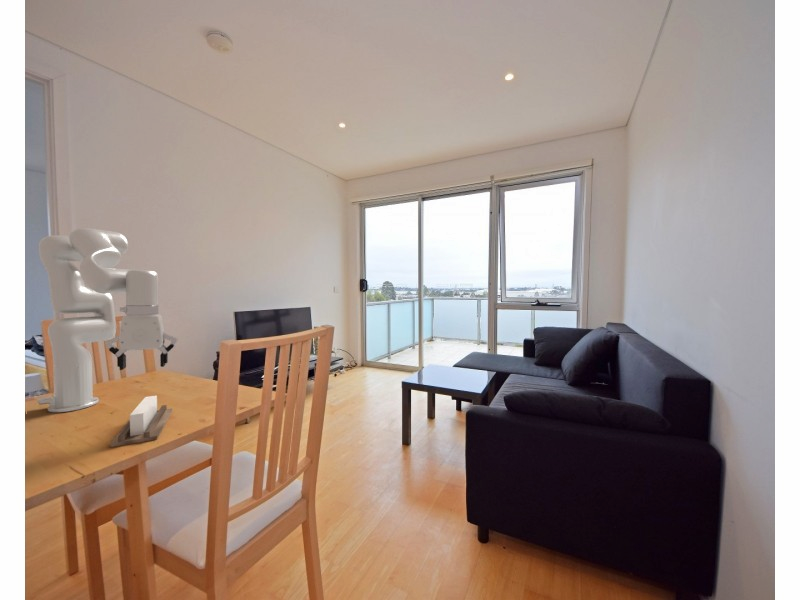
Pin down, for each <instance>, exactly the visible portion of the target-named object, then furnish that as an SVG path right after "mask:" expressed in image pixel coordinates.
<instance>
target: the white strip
mask: <svg viewBox="0 0 800 600" xmlns="http://www.w3.org/2000/svg"><path fill="white" fill-rule="evenodd" d="M157 411H158V396H157V395H149V396H145V397H144V398H143V399H142V400H141V401H140V402H139V404H138V405H137V406H136V407H135V409H133V411H132V412H131V413H130V414H129V420H130V436H135V435H141V434H144V432H145V431H146V429H147V428H148V426H149V425H150V423H151V422H152V420H153V419H154V417H155V416H156V414H157Z"/></svg>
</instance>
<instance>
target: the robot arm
mask: <svg viewBox="0 0 800 600" xmlns="http://www.w3.org/2000/svg"><path fill="white" fill-rule="evenodd" d="M128 250H129V241H128V239H127V237H126V236H125V235H124V234H122V233H120V232H118V231H113V230H106V229H98V228H92V227H80V228H76V229H74V230H73V231H71V232H70V234H69V235H47V236H44V237H42V239H40V241H39V244H38V255H39V258H40V261H41V263H42V265H43V267H44V269H45V271H46V273H47V277H48V285H49V295H50V303H51V307H52V309H53V311H54V312H55V313H57V314H61V315H65V314H67V315H68V314H69V315H70V314H71V315H73V314H74V315H75V314H93V315H94V316H77V317H76V316H75V317H74V316H73V317H64V318H60V319H59V318H58V319H56V320H54V321H52V322H50V324H49V325H48V327H47V334H48V335H47V336H48V339H49V342H50V347H51V352H52V353H51V354H52V367H53V368H52V369H53V370H52V371H53V375H52V376H53V377H52V378H53V395H51V396H48V397H47V396H46V397H39V398H38V400H37V403H38V404H39V406H41V405H47V404H48V407H47V412H50V413H65V412H66V413H67V412H72V411H78V410H82V409H86V408H88V407H91V406H94V405H96V404H98V403H99V402H100V401H99V400H100V399H99V397H97V396H93V392H94V390H93V365H92V364H93V362H92V361H93V358H92V354H91V352H90V351H89V349H87V348H86V347H84V346H83V344H88V343H97V342H103V341H104V345H105V346H106V348H107V349H108V351H109V352H110V353H111V354H114V356H115V357H116V360H117V362H116V363H117V365H116V366H117V367H119V371H124V369H125V368H127V355H126V354H125V352H127V351H138V350H139V351H142V350H154V349H155V350H156V349H158V350H159V351H160V359H159V362H160V367H161V368H163V367H165V366H166V364H168V362H169V359H168V356H169V354H168V352H170V351H171V350H172V349H173V348H174V347H176V344H177V342H178V340H179V338H178V337H176V336H173V335H170V334H168V333H165V328H164V327H165V326H164V321H163V317H162V315H161V314H159V312H160V311H159V304H160V303H159V274H158V273H157V272H156V271H155V270H147V269H130V268H129V269H128V268H116V266H118V265H119V264H120V262H121V260H122V256H124V255H126V253H127V252H128ZM72 262H80V266H79V267H77V266H76V265H74V263H72ZM114 267H115V268H114ZM85 284H86V285H87V286H88V287H86V285H85ZM114 294H125V302H126V303H125V306H123V307H119V312H120V313H125V315H123V316H122V318H121V323H120V327H119V328H120V329H119V335H118V336H116V333H117V322H116V313H115V312H116V311H115V303H114V297H113V295H114ZM165 340H168V341H170V344H169V345H168V346H166V345H165ZM117 342H118V347H119V348H118V347H116V346H115V343H117Z"/></svg>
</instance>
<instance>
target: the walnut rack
mask: <svg viewBox="0 0 800 600" xmlns="http://www.w3.org/2000/svg"><path fill="white" fill-rule="evenodd" d="M172 413H173V408H167V404H165V405H164V404H163V405H161V406H160V408H159V410H158V409H157V414H156V416H155V417H154V419H153V420H152V422H151V423H150V425H149V426H148V428H147V429H146V431H145V432H144V434H141V435H135V436H130V419H129V420H128V422H127V423H126V424H125V425H124V426H123V428H122V429H121V430H120V431H119V433H118V434H117V435H116V436H115V438H113V440H112V441H111V442H110V444H109V445H110V446H109V447H110V448H114V447H119V446H120V447H121V446H126V445H131V444H132V445H133V444H137V443H143V442H149V441H155V440H156V441H157V440H158V439H159V437H160V435H161V433H162V431H163V430H164V428H165V426H166V424H167V422H168V420H169V418H170V416H171V415H172Z"/></svg>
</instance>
